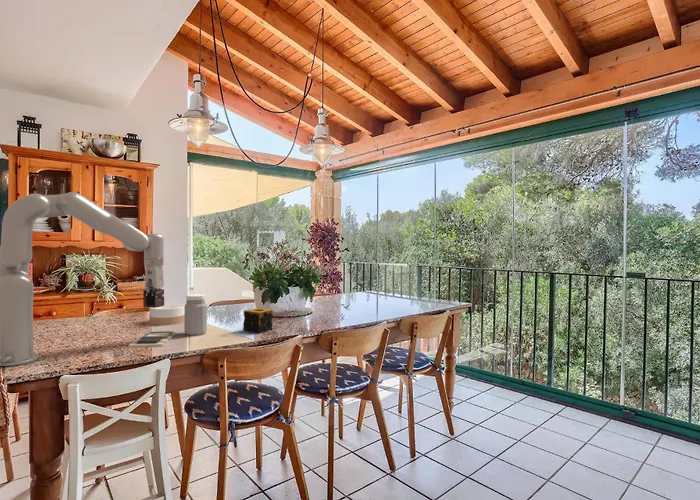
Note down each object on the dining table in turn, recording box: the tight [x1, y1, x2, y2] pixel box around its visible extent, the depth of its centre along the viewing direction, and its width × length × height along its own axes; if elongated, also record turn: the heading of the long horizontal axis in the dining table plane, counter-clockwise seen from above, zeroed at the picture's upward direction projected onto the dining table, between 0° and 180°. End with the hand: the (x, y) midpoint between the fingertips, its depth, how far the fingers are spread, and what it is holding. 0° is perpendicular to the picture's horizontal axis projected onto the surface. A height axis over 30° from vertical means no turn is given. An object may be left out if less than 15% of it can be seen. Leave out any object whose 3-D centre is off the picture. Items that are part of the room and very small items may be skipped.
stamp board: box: [128, 330, 177, 348], centre depth 179 cm, size 22×13×2 cm, turn 9°
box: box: [142, 288, 165, 309], centre depth 178 cm, size 6×6×7 cm
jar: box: [183, 293, 208, 337], centre depth 192 cm, size 10×10×18 cm
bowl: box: [148, 303, 186, 326], centre depth 218 cm, size 17×17×8 cm
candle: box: [242, 307, 274, 334], centre depth 201 cm, size 10×10×10 cm
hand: (153, 303), depth 178 cm, fingers closed on box, 7 cm apart
